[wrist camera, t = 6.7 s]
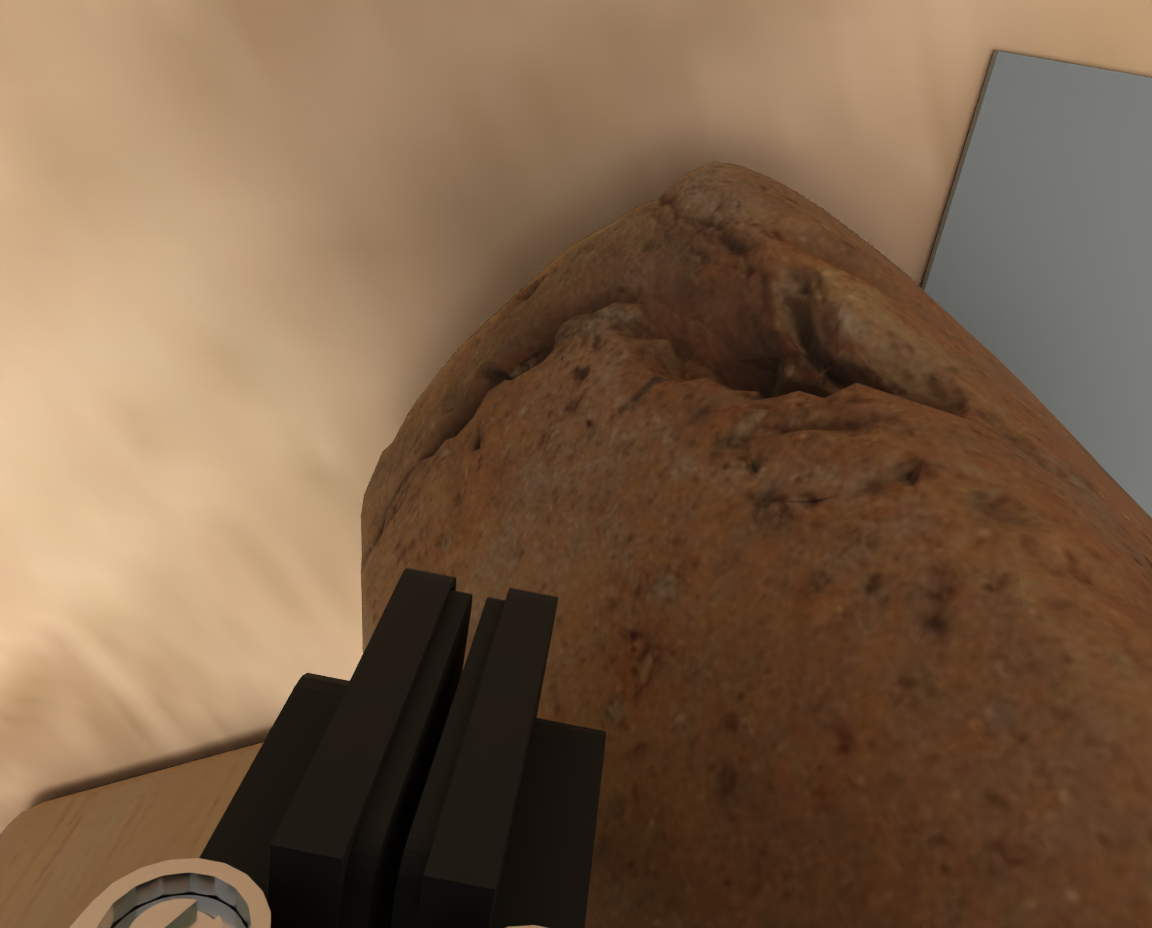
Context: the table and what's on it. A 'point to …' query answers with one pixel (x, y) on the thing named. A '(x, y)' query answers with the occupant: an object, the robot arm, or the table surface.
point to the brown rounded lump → (795, 579)
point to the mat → (1060, 249)
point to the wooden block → (110, 836)
